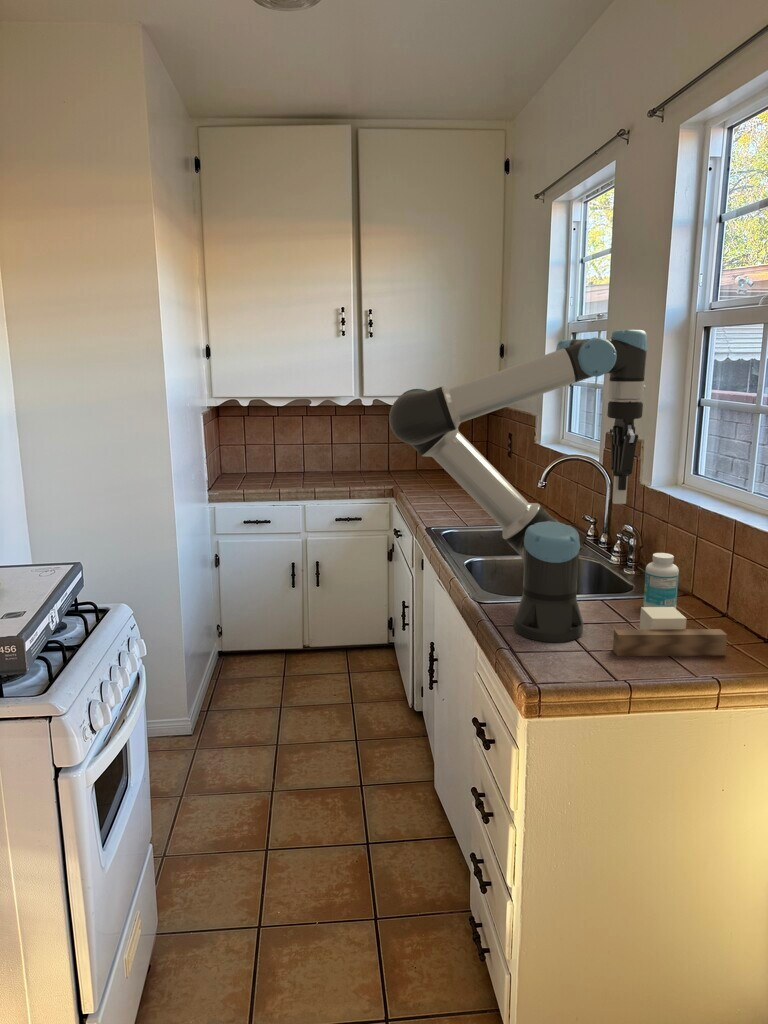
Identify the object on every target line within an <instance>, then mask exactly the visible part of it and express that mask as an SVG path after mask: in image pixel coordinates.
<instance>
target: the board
mask: <svg viewBox="0 0 768 1024" xmlns="http://www.w3.org/2000/svg"><path fill="white" fill-rule="evenodd" d="M612 641H613V642H612V652H614V654H615V655H616V656H617V657H630V656H631V657H636V656H637V657H638V656H641V657H644V656H645V657H653V656H655V657H656V656H657V657H659V656H661V657H662V656H663V657H665V656H666V657H667V656H669V657H670V656H672V657H673V656H675V657H677V656H678V657H679V656H691V657H692V656H726V651H727V643H728V642H727V641H728V634H727V632H725V631H724V630H723V629H721V628H700V629H699V628H691V629H690V628H687V629H640V628H638V629H614V630H613V640H612Z"/></svg>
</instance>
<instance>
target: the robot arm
mask: <svg viewBox="0 0 768 1024" xmlns="http://www.w3.org/2000/svg"><path fill="white" fill-rule="evenodd" d="M647 353H648V335H647V332H646V331H645V330H643V329H618V330H613V332H612V333H611V337H610V338H608V339H606V338H603V337H597V336H595V337H592V338H585V339H579V338H577V339H574V338H573V339H572V338H570V339H562V340H560V341H558V343H557V346H556V349H555V351H553V352H550V353H547V354H544V355H542V356H541V355H540V356H538V357H535V358H532V359H530V360H527V361H524V362H521V363H519V364H516V365H513V366H510V367H507V368H504V369H502V370H500V371H499V370H498V371H496V372H493V373H490V374H488V375H484V376H482V377H479V378H477V379H474V380H471V381H469V382H468V381H467V382H465V383H462V384H458V385H457V386H453V387H451V388H448V387H446V386H439V387H436V388H433V389H431V390H429V389H428V390H427V389H423V388H412V389H408V390H406V391H404V392H402V394H401V395H400V396H398V398H397V399H396V400H395V401H394V403H393V404H392V405H391V407H390V411H389V416H388V422H389V427H390V429H391V431H392V433H393V435H395V437H396V438H397V439H398V440H400V441H401V442H403V443H405V444H408V445H410V446H412V448H413V449H414V450H415V451H416V452H418V454H419V455H420V456H421V457H428V458H429V457H431V458H432V459H434V460H435V462H437V464H439V465H440V467H441V468H443V469H444V471H445V472H446V473H448V475H450V477H451V478H452V479H453V480H454V481H455V482H456V483H457V484H458V485H459V486H460V487H461V488H462V489H463V490H464V491H465V492H466V493H467V494H468V495H469V496H470V497H471V498H472V499H473V500H474V501H475V502H476V503H477V504H478V505H479V506H480V507H481V508H482V509H483V510H484V511H485V512H486V513H487V514H488V515H489V516H490V518H492V519H493V520H494V521H495V522H496V523H497V525H498V526H500V528H501V529H502V539H504V541H505V542H506V543H507V544H508V545H509V546H510V547H511V548H513V550H515V552H516V553H517V554H518V555H519V556H520V557H521V559H522V561H523V574H522V576H523V579H522V596H521V599H520V601H519V604H518V606H517V609H516V611H515V614H514V617H513V629H514V631H515V632H516V633H517V634H518V635H519V636H522V637H524V638H528V639H529V640H530V639H531V640H534V641H539V642H547V643H548V642H549V643H564V642H565V643H566V642H570V641H575V640H577V639H579V638H581V637H582V636H583V634H584V621H583V617H582V613H581V610H580V606H579V603H578V599H577V592H578V579H579V578H578V576H579V575H578V574H579V573H578V572H579V558H580V557H579V556H580V550H581V542H580V535H579V532H578V531H577V530H576V529H575V527H573V526H571V525H570V524H569V525H567V524H565V523H562V522H560V521H558V520H557V518H554V517H553V516H551V514H549V512H548V511H546V510H545V508H544V507H543V506H542V505H541V504H539V503H538V502H535V503H533V502H532V503H531V502H528V501H527V499H526V498H525V497H524V496H523V495H522V494H521V493H520V492H519V491H518V490H517V489H516V488H515V487H514V486H513V485H512V484H511V483H510V482H509V481H508V479H506V478H505V477H504V476H503V474H501V473H500V472H499V471H498V470H497V468H496V467H494V465H492V464H491V462H490V461H489V460H487V458H486V457H484V455H483V454H482V453H481V452H480V451H479V450H478V449H477V448H476V447H475V446H474V445H473V444H472V443H471V442H470V441H469V440H468V439H467V438H466V437H465V435H463V433H461V432H460V431H459V427H460V425H461V423H464V422H467V421H469V420H472V419H475V418H478V417H482V416H484V415H486V414H489V413H492V412H495V411H498V410H501V409H505V408H506V407H509V406H512V405H516V404H518V403H522V402H523V401H527V400H530V399H532V398H535V397H539V396H541V395H543V394H546V393H549V392H551V391H555V390H558V389H560V388H563V387H567V386H569V385H571V384H576V383H577V382H581V381H584V380H587V379H591V378H594V377H601V376H603V375H606V374H609V380H608V390H607V391H608V392H607V393H608V394H607V398H608V399H609V400H610V401H609V400H608V402H607V417H608V418H609V419H615V420H614V423H613V426H612V428H610V429H609V435H610V470H611V471H612V474H613V483H612V484H613V485H612V499H611V500H612V501H611V502H612V504H615V505H626V504H627V493H628V479H629V476H630V475H632V474H633V466H634V460H635V453H636V447H637V442H638V439H639V434H638V433H636V427H635V420H636V419H637V420H638V419H641V418H642V417H643V410H644V409H643V408H644V403H643V401H641V400H643V399H644V391H645V390H646V389H647V386H646V385H645V376H646V375H645V374H646V364H647V363H646V362H647Z"/></svg>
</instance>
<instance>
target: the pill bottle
mask: <svg viewBox="0 0 768 1024" xmlns="http://www.w3.org/2000/svg"><path fill="white" fill-rule="evenodd" d="M674 558H675V556H674V555H673V554H671V553H667V552H654V553H653V554H652V561H651V562H649V563H648V564H647V565H646V566H645V574H644V591H643V607H674V608H675V609H676V610H677V601H678V600H677V599H678V590H679V588H678V587H679V573H680V569H679V567H678V566H677V565H676V564H674V560H675V559H674Z"/></svg>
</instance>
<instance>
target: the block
mask: <svg viewBox="0 0 768 1024" xmlns="http://www.w3.org/2000/svg"><path fill="white" fill-rule="evenodd" d="M639 615H640V618H639V629H686V628H687V617H686V616H684V615H683V614H682V613H681V612H680V611H679V610H678V609H677V608H676V609H675V608H674V607H644V606H641V607H640V614H639Z"/></svg>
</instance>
